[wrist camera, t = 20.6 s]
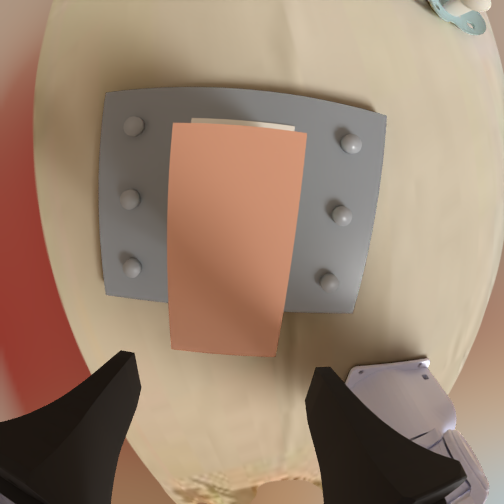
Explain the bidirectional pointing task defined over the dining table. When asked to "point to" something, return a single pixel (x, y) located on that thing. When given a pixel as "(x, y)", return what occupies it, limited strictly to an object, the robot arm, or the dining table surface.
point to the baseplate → (311, 198)
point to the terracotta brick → (231, 235)
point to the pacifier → (463, 13)
